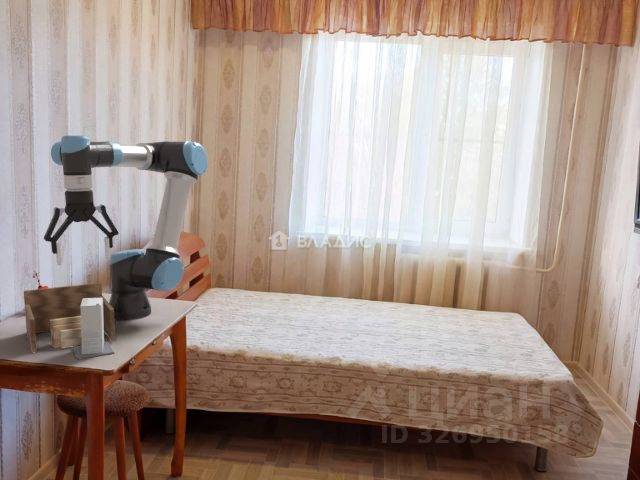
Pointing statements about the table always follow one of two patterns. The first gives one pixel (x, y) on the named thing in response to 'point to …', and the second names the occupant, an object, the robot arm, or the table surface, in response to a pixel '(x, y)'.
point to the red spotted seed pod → (38, 282)
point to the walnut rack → (62, 308)
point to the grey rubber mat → (106, 351)
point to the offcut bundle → (66, 331)
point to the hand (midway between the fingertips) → (84, 261)
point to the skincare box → (92, 325)
